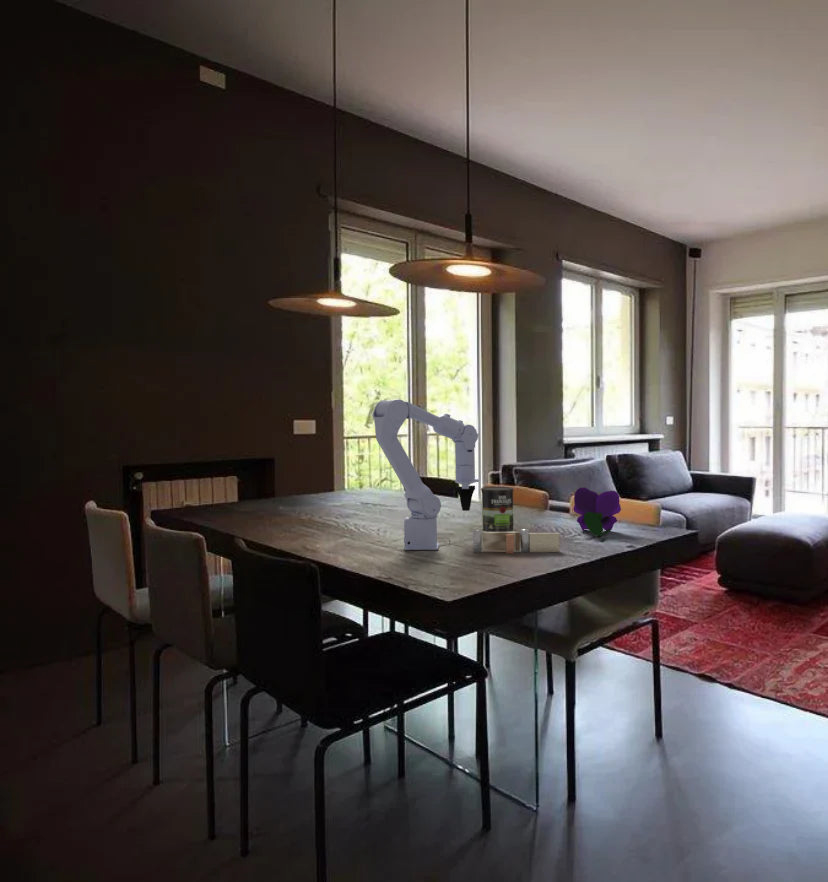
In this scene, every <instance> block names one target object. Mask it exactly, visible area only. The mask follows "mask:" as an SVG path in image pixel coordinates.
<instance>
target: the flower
mask: <svg viewBox="0 0 828 882" xmlns="http://www.w3.org/2000/svg"><path fill="white" fill-rule="evenodd" d="M573 500H574V501H573V504H574V505H573V508H572V510H573V511H574V513H576V514H578V515H580V516H578V517H577V519H576V522H577V524H579V527H580V529H581V531H582V530H584V529H588V531H589V532H590V533H591V534H592V535H594V536H597V538H598V537H600V538H602V537H603V536H604V535H607V533H609V532H611V531H612V530H613V528H614V525H615V524H616V523H617V522H618V519H617V517H616V516H615V515H617V514H620V512H621V510H622V507H621V504H620V495H619V493H618V492H617V491H615V490H608V491H603V492H601V493H600V494H599V493H597V492H595V491H592V490H591V489H588V488H586V487H579V488H577V489H576V490H575V492H574V495H573ZM605 530H606V531H605ZM610 530H611V531H610ZM603 531H604V532H603Z"/></svg>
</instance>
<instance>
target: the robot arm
mask: <svg viewBox="0 0 828 882" xmlns="http://www.w3.org/2000/svg"><path fill="white" fill-rule="evenodd" d="M372 419H373V421H374V431H375V432H374V433H375V439H376V441H377V444H378V445H379V446H380V448H381V450H382V452H383V453H384V456H385V457H386V459H387V461H388V462H389V464H390V465H391V468H392V469H393V471H394V474H395V475H396V476H397V478H398V480H399V482H400V483H401V486H402V487H403V489H404V490H405V492H404V495H403V496H404V498H405V500H406V505H407V508H408V510H409V511H410V516H406V517H405V516H404V519H403V530H404V531H403V534H404V536H403V543H404V549H405V550H404V551H412V550H413V551H423V550H424V551H425V550H426V551H434V550H435V551H437V550H439V546H440V542H438V525H437V523H438V521H437V519H438V514H439V513H440V511H441V508H442V502H441V500H440V498H439V497H438V495H435V494H434V493H433V491H432V490H431V488H430V487H428V486H427V485H426V484H424V483H423V481H422V479H421V477H420V475H419V474H418V472H417V470H416V468H415V467H414V464H413V463H412V461H411V459H410V458H409V456H408V454H407V452H406V450H405V449H404V447H403V445H402V443H401V442H400V440H399V438H398V434H399V431H400V428H401V427H402V426H403V425H404V422H406V420H408V419H409V420H410V419H412V420H414V421H416V422H420V423H422V424H424V425H427V426H431V427H432V429H433V431H434V432H435V434H439V435H440V436H443V437H446V438H448V439H450V440H451V441H452V442H453V443H454V451H455V452H454V453H455V454H454V455H455V457H454V459H455V460H454V461H455V462H454V463H455V480H454V483H456V484H459V485H461V486H456V487H455V491H457V493H458V496H459V500H460V506H461V510H462V511H463V512H465V511H466V512H467V511H468V512H470V510H471V505H472V504H471V503H472V498H473V494H474V492H475V490H476V485H472V484H474V483H479V482H480V480H479V478H476V468H475V467H476V461H475V460H476V459H475V458H476V457H475V451H476V449H475V448H476V442H478V439H479V436H480V435H479V433H478V431H477V429H476V428H475V426H474V425H472V424H464V421H463V420H462V419H461V420H460V419H459V420H457V419H455V418H453V417H451V414H449V413H444V414H443V413H442V414H439V415H436V414H434V413H432V412H430V411H427V410H425V409H424V408H421V407H419V406H418V405H415V404H413V403H411V402H409V401H404V400H402V399H400V398H399V399H398V398H396V399H392V400H391V399H390V400H380V401H378V402H377V403H376V404H375V407H374V410H373V412H372Z"/></svg>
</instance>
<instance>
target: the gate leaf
mask: <svg viewBox="0 0 828 882" xmlns="http://www.w3.org/2000/svg"><path fill="white" fill-rule="evenodd" d="M506 534H513V535H514V552H515V551H516V552H517V551H518V552H521V541H520V531H514V532H482V552H491V551H493V552H498V551H499V552H502V551H504V552H506Z"/></svg>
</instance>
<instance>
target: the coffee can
mask: <svg viewBox="0 0 828 882" xmlns="http://www.w3.org/2000/svg"><path fill="white" fill-rule="evenodd" d="M480 491H481V533H483V532H515V531H514V488H513V487H509V486H487V487H481V488H480Z"/></svg>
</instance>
